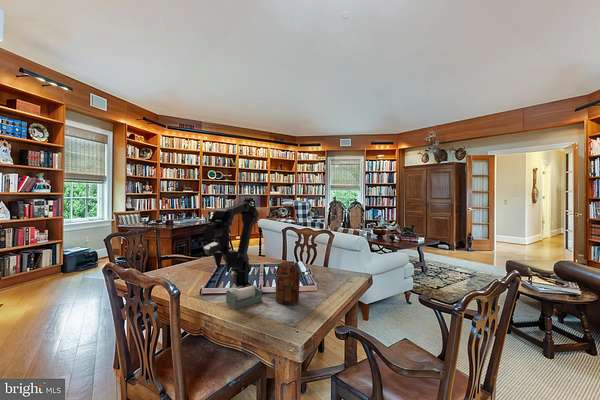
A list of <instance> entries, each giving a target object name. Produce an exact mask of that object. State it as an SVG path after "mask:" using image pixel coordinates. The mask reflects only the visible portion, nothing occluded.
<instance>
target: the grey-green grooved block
mask: <svg viewBox="0 0 600 400" xmlns="http://www.w3.org/2000/svg"><path fill="white" fill-rule="evenodd" d="M250 286H253V287H254V289H255V297H253V298H249V299H245V300H242V301H238V302H237V296H235V295H234V294H232V291H230V290H226V291H225V294H226V295H225V303H226V304H227V305H228V306H230V307H231V308H233V309H234V310H236V309H239V308H243V307H246V306H250V305H253V304H257V303H261V302H262V296H263V295H262V294H263V291H262V289H260V288H259V287H257V286H255V285H253V284H250Z"/></svg>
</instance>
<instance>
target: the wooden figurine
mask: <svg viewBox="0 0 600 400" xmlns="http://www.w3.org/2000/svg"><path fill="white" fill-rule="evenodd" d="M300 276H301V275H300V271H299V269H298V268H297V266H296V265H295V264H294V262H291V261H288V260H287V261H285V260H284V261H281V262H279V264H278V265H277V267H276V271H275V302H276V303H277V304H279V305H285V306H286V305H287V306H292V305H293V306H297V305H298V304H299V302H300V282H301V277H300Z"/></svg>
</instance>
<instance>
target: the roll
mask: <svg viewBox="0 0 600 400" xmlns="http://www.w3.org/2000/svg"><path fill="white" fill-rule="evenodd" d="M231 293H232V294H234V295H235V296H237V302H238V301H242V300H245V299H249V298H253V297H255V289H254V287H253V286H251V285H249V286H246V287H241V288H237V289H233V290H232V291H231Z"/></svg>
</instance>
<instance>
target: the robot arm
mask: <svg viewBox="0 0 600 400" xmlns="http://www.w3.org/2000/svg"><path fill="white" fill-rule="evenodd" d="M238 214H240V215H241V221H242V229H241V235H240V239H239V242H238V243H239V244H238V248H237V250H234V249H232V247H231V246H230V242H231V241H232V238H230V227H231V226H232V224H233V223H232V222H231V221H232V220H233V219H234V216H236V215H238ZM259 214H260V213H259V210H258V209H257V208H256V207H254V206H253V205H251V203H250V202H247V201H240V202H238V203H235V204H232V205H231V206H228V207H219V208H215V210H214V212H213V214H212V217H211V219H210V222H209V223H208V224H207V226H206V227H205V228H204V230H203V233H202V234H203V237H204V239H205V240H207V241H213V242H211V243H209V244H207V245H205V246H203V251H204V254H205V255H207V256H213V259H214V262H215V265H216V268H220V266H221V263H222V260H223V261H224V262H225V263H224V264H225V271H226V273H230V271H232V272H234V275H233V284H235V285H236V284H237V285H236V286H239V285H241V286H244V284H245V285H248V283H249V284H250V283H251V282H250V281H249V273H251V272H252V266H251V264H250V263H249V262H250V259H249V256H248V250H249V244H250V240H251V236H252V231H253V227H254V226H255V224H256V223H257V222H258V218H259V216H260V215H259ZM239 287H240V286H239Z"/></svg>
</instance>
